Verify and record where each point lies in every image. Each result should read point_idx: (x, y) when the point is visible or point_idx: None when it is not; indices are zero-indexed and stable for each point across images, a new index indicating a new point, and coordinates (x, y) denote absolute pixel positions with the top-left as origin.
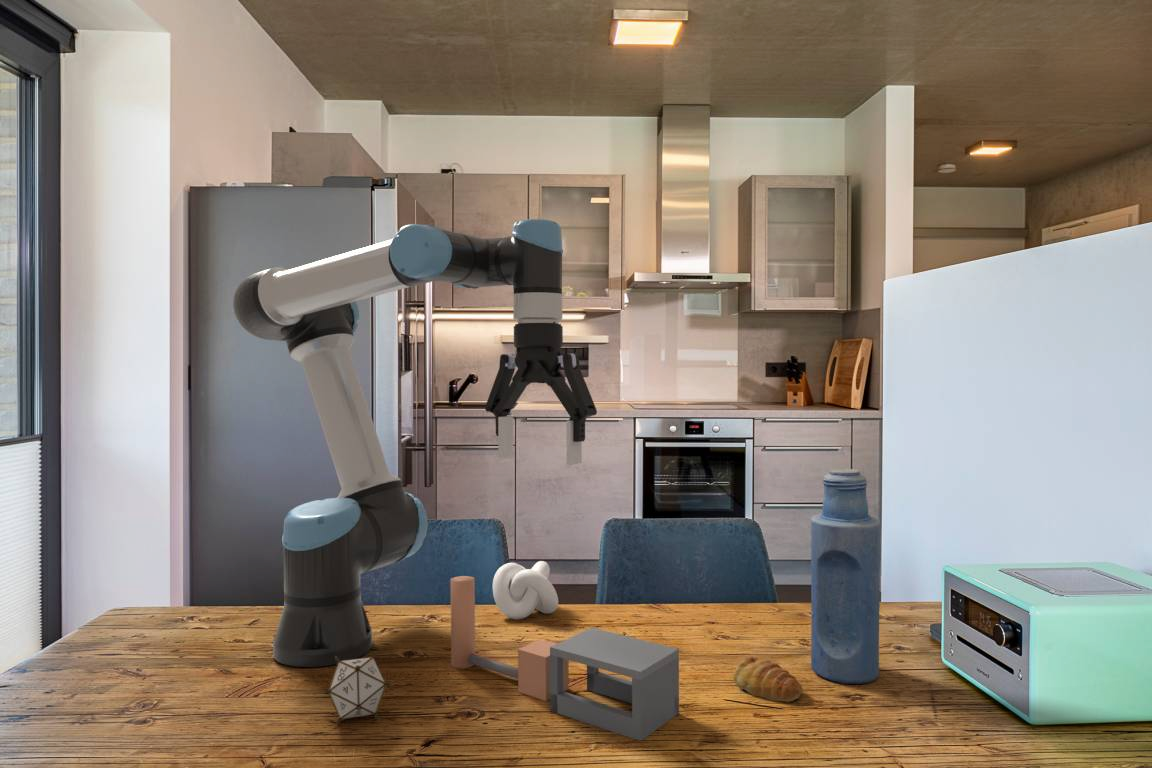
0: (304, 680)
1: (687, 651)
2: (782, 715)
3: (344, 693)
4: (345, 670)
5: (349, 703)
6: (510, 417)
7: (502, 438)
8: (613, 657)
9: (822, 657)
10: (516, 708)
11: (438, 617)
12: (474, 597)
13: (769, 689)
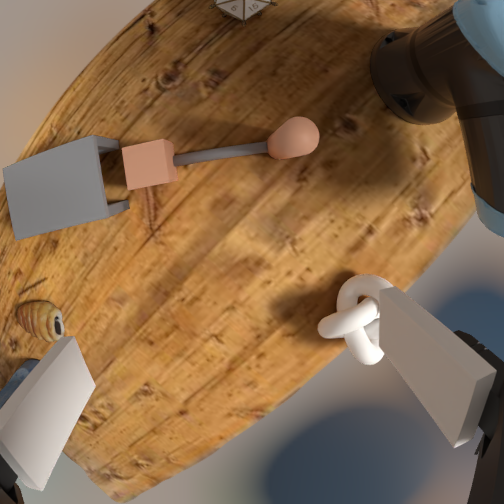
0: (354, 21)
1: (138, 344)
2: (12, 284)
3: None
4: None
5: None
6: (456, 431)
7: (416, 326)
8: (33, 171)
9: (32, 368)
10: (145, 118)
11: (416, 222)
12: (281, 150)
13: (26, 304)
